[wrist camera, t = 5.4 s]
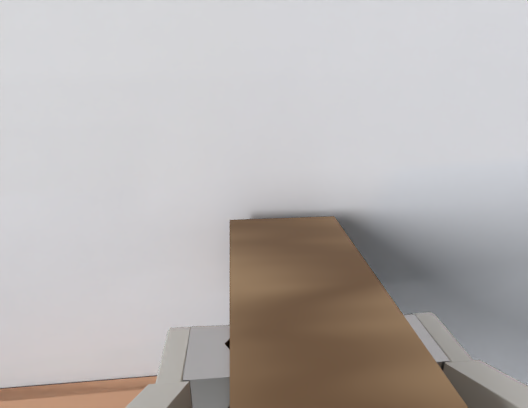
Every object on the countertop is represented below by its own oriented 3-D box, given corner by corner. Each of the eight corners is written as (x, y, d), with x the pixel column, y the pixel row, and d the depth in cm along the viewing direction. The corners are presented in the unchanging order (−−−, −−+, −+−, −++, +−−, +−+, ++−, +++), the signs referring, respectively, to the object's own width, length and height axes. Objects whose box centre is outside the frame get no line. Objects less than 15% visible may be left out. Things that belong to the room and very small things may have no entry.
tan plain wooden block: (334, 216, 12) (515, 474, 4) (326, 302, 13) (456, 615, 6) (229, 220, 11) (229, 504, 4) (233, 307, 13) (237, 646, 5)
